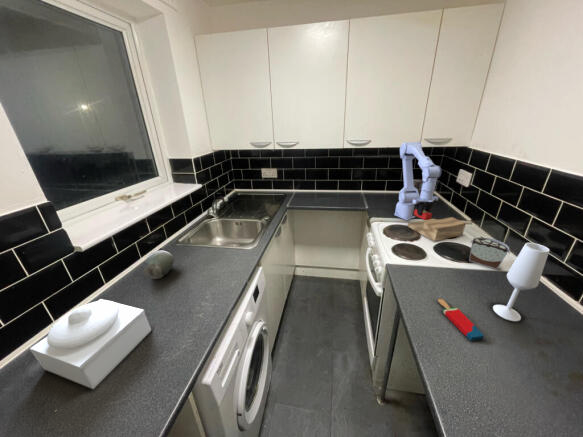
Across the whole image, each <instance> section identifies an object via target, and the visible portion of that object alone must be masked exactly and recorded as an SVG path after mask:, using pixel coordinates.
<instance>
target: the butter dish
mask: <svg viewBox="0 0 583 437" xmlns="http://www.w3.org/2000/svg"><path fill="white" fill-rule="evenodd" d="M145 311H146V310H145V309H144V308H143V309H142V308H138V307H135V306H131V305H126V304H122V303H119V302H115V301H112V300H107V299H103V298H99V299H98V300H97V301H93V302H89V303H86V304H84V305H81V306H78V307H76V308H75V309H73V310H71V311H70V312H68V313H66V314H65V315H64V316H62V317H61V318H59V320H57V321H56V322H55V323H54V325H52V327H51V328H50V330H49V331H48V334H47V336H44V338H43V339H41V340H39V341H38V342H37V343H35V344H34V345H32V346H31V347H30V348H29V351H30V352H31V354H32V355H33V356H34V358H35V359H36V360H37V362H38V363H39V364H40V366H41V367H42V368H43V370H45V371H47V372H50V373H52V374H54V375H58V376H59V377H62V378H65V379H67V380H70V381H72V382H74V383H77V384H79V385H82V386H83V387H87V388H89V389H91V390H94V389H95V388H96V387H97V386H98V385H99V384H100V383H101V382H102V381H103V380H104V379H105V378H106V377H107V376H108V375H109V374H110V373H111V372H112V371H113V370H114V369H115V368H116V367H117V366H118V365H119V364H120V363H121V362H122V361H123V360H124V359H125V358H126V357H127V356H128V355H129V354H130V353H131V352H132V351H133V350H134V349H135V348H136V347H137V346H138V345H139V344H140V343H141V342H142V341H143V339H145V338H146V336H148V335H149V334H150V333H151V331H152V327H151V325H150V323H149V321H148V318H147V316H146V312H145Z"/></svg>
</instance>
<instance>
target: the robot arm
mask: <svg viewBox="0 0 583 437" xmlns="http://www.w3.org/2000/svg"><path fill="white" fill-rule="evenodd" d="M399 156H400V159H401V160H402V161H401V162H402V175H403V187H402V189H400V190H399V194H398V201H397V203H396V205H395V212H394V214H393V216H395V217H398V218H400V219H402V220H405V221H409V220H413V219H415V218H416V216H415V215H414V211H415V207H416V209H417V214H418V215H420V216H421V215H422V213H423V210H425V211H427V212H429V213H430V212H431V210H432V208H433V207H434V206H435V205H436V202H438V201H439V196H437V195H434V193H435V189H436V185H437V181H438V179H439V178H440V177H441V175H442V168H441V166H440V165H436V164H435V163H434V162H433V160H432V159H431V158H430V157H429V156H426V155H425V153H424V151H423V144H422V142H421V141H414V142H413V141H412V142H411V141H408V142H405V141H404V142H402V143H401V144H400V147H399ZM414 159H417V161H418V162H417V165H418V166H419V168H420V170H421V171H422V172H421V175H422V179H421V180H422V181H423V185H422V189H421V194H420V196H419V193H418V189H416V188H415V187H414V184H413V180H414V172H413V160H414ZM405 192H409V193H405Z"/></svg>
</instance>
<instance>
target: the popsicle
mask: <svg viewBox="0 0 583 437" xmlns="http://www.w3.org/2000/svg"><path fill="white" fill-rule="evenodd" d="M437 302H438V303H439V304H440V305H441V306H442V307H444V309H443V314H444V315H445V316H446V317H447V318H448V320H449V321H450V322H452V324H453V325H454V326H455V327H456V328H457V329H458V330H459V331H460V332H461V333H462V334H463V335H464V336H465V337H466V338H467V339H468V340H469V341H470V342H473V341H479V340H480V341H481V340H484V338H485V334H484V333H483V332H482V331H481V330H479V328H478V327H477V326H476V325H475V324H474V323H473V322H472V321H471V320H470V319H469V318H468V317H467V315H465V314H464V313H463V312H462V311H461V310H460V309H459V308H458V307H453V308H452V307H451V306H449V304H448V303H447V302H446V301H445V300H444V299H442V298H438V299H437Z"/></svg>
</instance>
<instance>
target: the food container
mask: <svg viewBox="0 0 583 437" xmlns="http://www.w3.org/2000/svg"><path fill="white" fill-rule="evenodd" d="M470 244H471V246H470V252H469V258H468V262H471V263H474V264H478V265H481V266H485V267H488V268H491V269H493V270H498V269H499V268H500V266H501V265H502V263H503V261H504V259H505V258H506V256H507V254H510V252H511V249H510V246H508V245H507V244H506V243H505V242H502V241H500V240H498V239H495V238H490V237H484V236H480V237H474V238H472V240H471V241H470Z"/></svg>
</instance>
